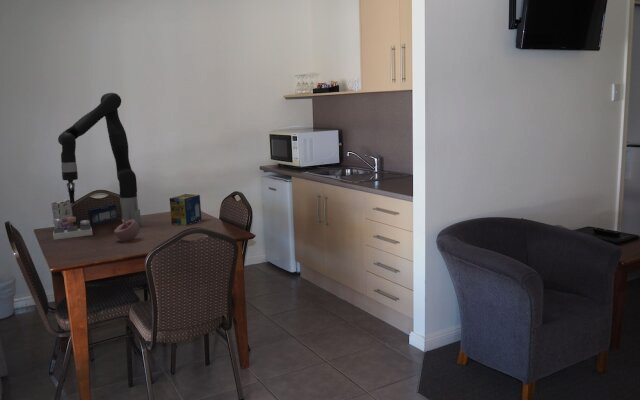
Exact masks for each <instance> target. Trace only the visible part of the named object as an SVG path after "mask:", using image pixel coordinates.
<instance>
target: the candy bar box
mask: <svg viewBox="0 0 640 400" xmlns="http://www.w3.org/2000/svg"><path fill="white" fill-rule="evenodd" d="M51 210H52V211H51V212H52V217H53V219H56V218H62V221H63V223H61V224H60V227H64V230H67V227H69V226H71V225H70V223H67V217H74V215H73V207H72V204H71V203H70V199H62V200H58V201H55V202H51ZM53 219H52V220H53ZM53 225H54V228H60V227H57V224H54V223H53ZM73 226H75V222H73Z"/></svg>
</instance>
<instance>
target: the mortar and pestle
mask: <svg viewBox="0 0 640 400" xmlns="http://www.w3.org/2000/svg"><path fill="white" fill-rule="evenodd" d="M121 222H123V223H122V224H119V225H118V226H117V227H116V228H115V229H114V231H113V232H114V235H115V236H116V238H117V239H119V240H121V241H123V242H129V241H132V240H134V239H135V238H136V237H138V234H139V233H140V226H139V225H138V223H137V222H136V221H135V220H134V219H131V220H128V221H126V222H125V221H124V220H123V219H122V218H121Z"/></svg>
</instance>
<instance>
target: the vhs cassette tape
mask: <svg viewBox="0 0 640 400" xmlns="http://www.w3.org/2000/svg"><path fill="white" fill-rule="evenodd" d="M87 211H88V213H87V214H88V220H89V224H90V226H91V227H96V226H100V225H101V226H102V225H104V224H109V223H110V224H111V223H112V222H117V221H118V220H119V219H118V218H119V217H118V210H117V204H109V205H103V206H100V207H96V208H90V209H88V210H87Z"/></svg>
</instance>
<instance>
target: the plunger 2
mask: <svg viewBox="0 0 640 400" xmlns="http://www.w3.org/2000/svg"><path fill="white" fill-rule="evenodd" d="M80 225H81V226H87V225H90V222H89V219H83V220H80Z"/></svg>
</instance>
